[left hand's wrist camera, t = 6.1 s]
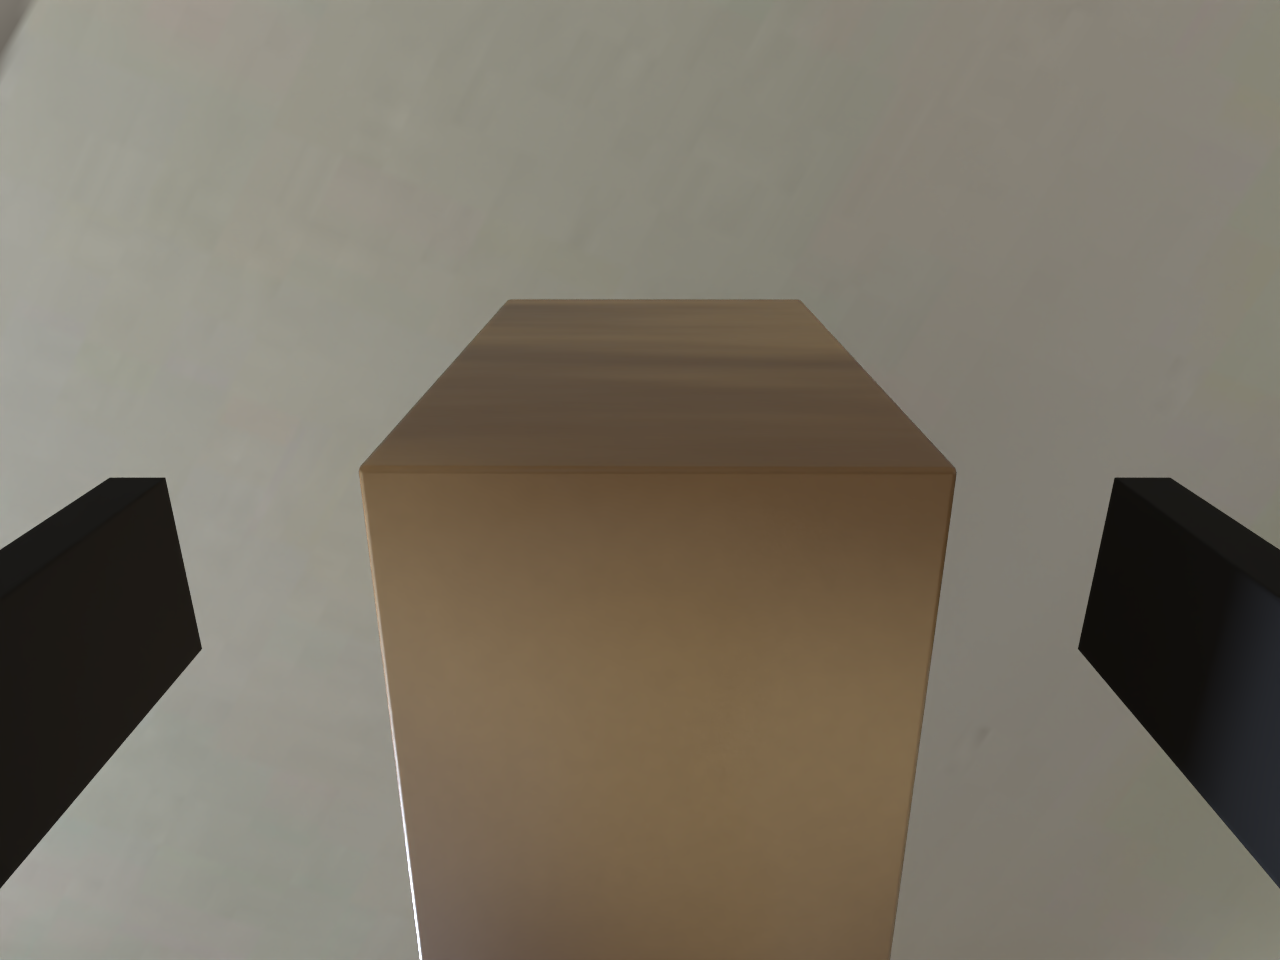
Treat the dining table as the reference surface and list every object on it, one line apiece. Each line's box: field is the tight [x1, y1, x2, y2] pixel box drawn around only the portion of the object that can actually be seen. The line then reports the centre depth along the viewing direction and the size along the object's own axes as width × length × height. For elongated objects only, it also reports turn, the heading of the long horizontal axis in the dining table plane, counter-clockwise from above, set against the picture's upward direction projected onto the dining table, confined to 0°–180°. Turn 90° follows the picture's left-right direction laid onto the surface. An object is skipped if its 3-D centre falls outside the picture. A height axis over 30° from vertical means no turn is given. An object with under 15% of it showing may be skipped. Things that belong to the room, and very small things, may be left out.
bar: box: [359, 300, 957, 960], centre depth 17 cm, size 23×6×9 cm, turn 0°
